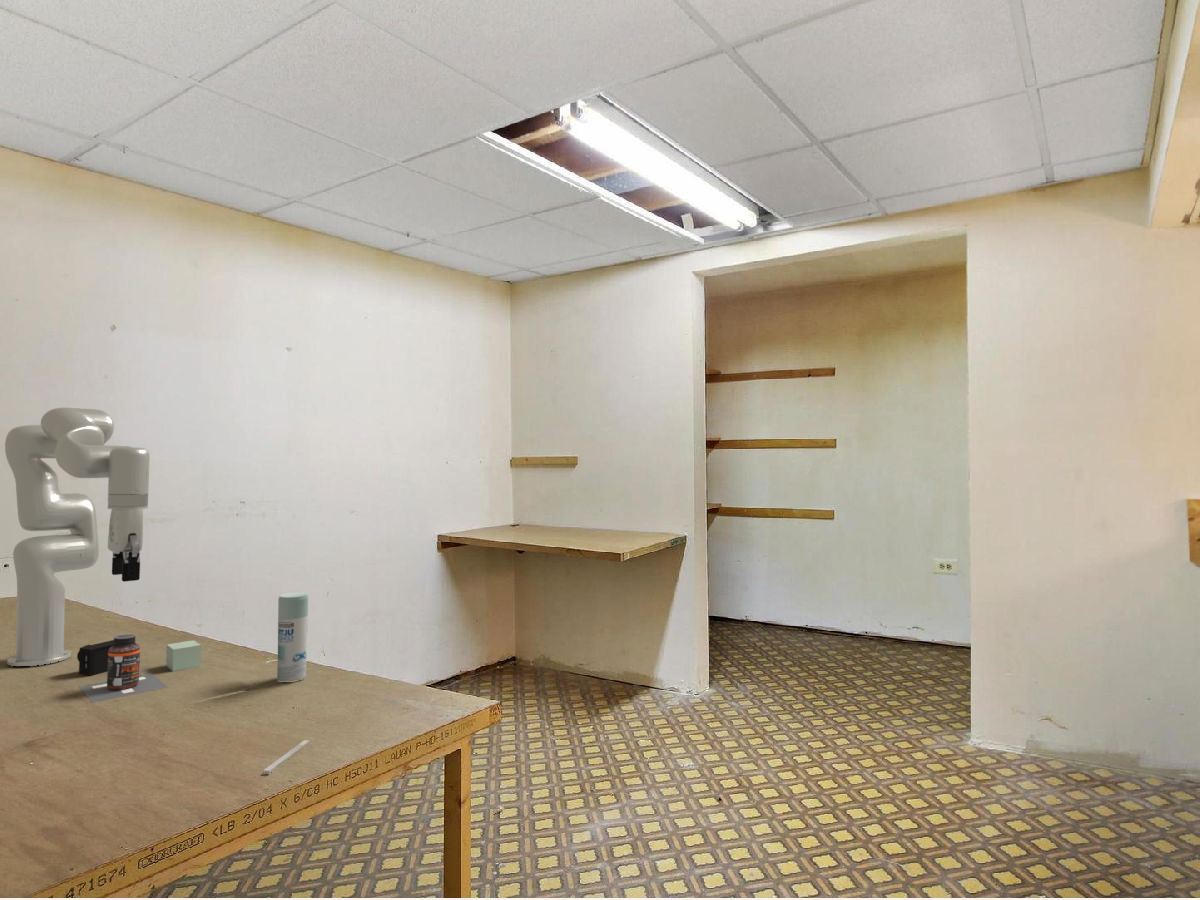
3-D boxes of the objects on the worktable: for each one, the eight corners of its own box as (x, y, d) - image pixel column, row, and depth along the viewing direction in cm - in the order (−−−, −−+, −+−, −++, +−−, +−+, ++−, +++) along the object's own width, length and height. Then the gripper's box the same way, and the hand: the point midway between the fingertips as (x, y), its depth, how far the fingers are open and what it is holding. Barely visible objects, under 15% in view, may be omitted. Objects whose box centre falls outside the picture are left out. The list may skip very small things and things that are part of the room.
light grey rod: (269, 776, 114) (269, 770, 114) (263, 776, 114) (263, 770, 114) (309, 745, 126) (309, 740, 126) (304, 745, 126) (304, 740, 126)
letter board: (79, 689, 153) (79, 686, 153) (151, 675, 163) (151, 673, 163) (91, 705, 143) (91, 702, 143) (168, 689, 153) (168, 687, 153)
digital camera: (119, 664, 172) (120, 636, 172) (134, 667, 170) (135, 638, 170) (75, 676, 162) (75, 646, 162) (89, 679, 160) (90, 649, 160)
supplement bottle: (122, 692, 150) (123, 640, 150) (99, 689, 151) (101, 638, 151) (145, 683, 156) (146, 633, 156) (123, 681, 157) (125, 632, 157)
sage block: (166, 668, 169) (166, 644, 169) (193, 663, 173) (193, 640, 173) (172, 674, 165) (173, 649, 165) (200, 669, 169) (201, 644, 169)
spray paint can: (312, 676, 164) (314, 593, 164) (290, 684, 158) (292, 598, 158) (293, 672, 167) (295, 591, 167) (270, 680, 161) (272, 595, 161)
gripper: (99, 499, 157) (97, 573, 157) (116, 505, 145) (113, 585, 145) (138, 498, 162) (135, 570, 162) (157, 504, 151) (154, 581, 150)
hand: (125, 577), depth 154 cm, fingers open, 9 cm apart
